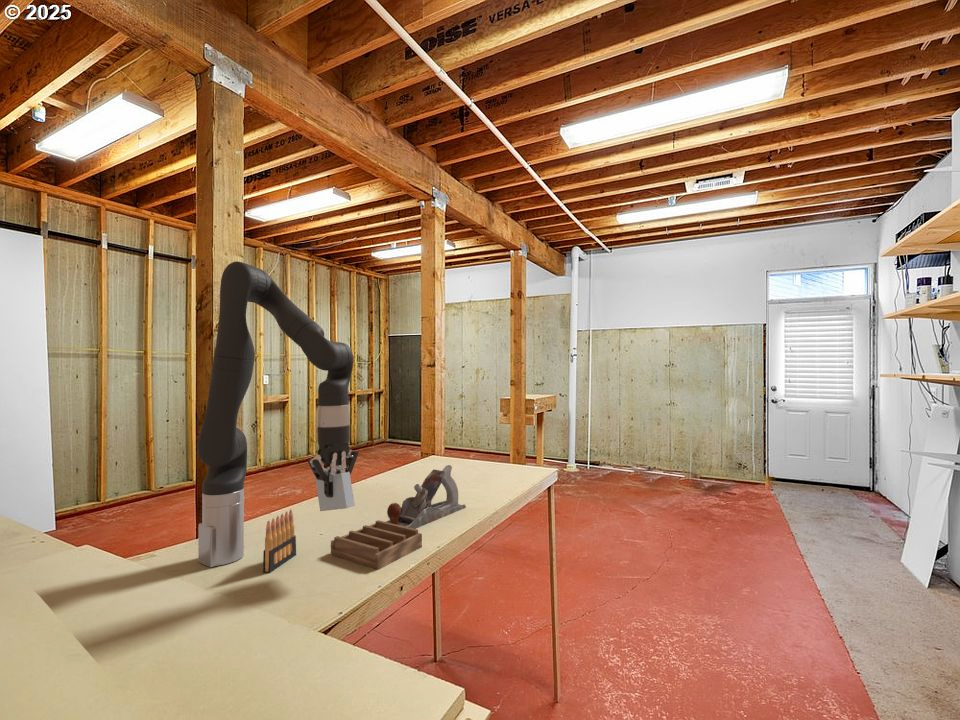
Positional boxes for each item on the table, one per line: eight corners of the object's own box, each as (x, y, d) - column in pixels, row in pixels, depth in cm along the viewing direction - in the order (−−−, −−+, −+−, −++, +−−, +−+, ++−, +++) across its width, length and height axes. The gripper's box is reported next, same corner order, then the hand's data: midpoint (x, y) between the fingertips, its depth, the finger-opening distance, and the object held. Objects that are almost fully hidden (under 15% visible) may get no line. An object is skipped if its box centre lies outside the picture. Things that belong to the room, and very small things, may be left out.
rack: (378, 569, 107) (377, 550, 107) (330, 554, 117) (330, 536, 117) (421, 546, 121) (421, 530, 121) (376, 535, 130) (376, 519, 130)
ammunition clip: (269, 573, 106) (269, 521, 107) (262, 572, 107) (262, 521, 107) (296, 554, 117) (296, 508, 117) (290, 554, 117) (289, 507, 117)
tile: (346, 508, 105) (341, 473, 106) (320, 511, 110) (315, 478, 111) (354, 505, 107) (349, 471, 108) (328, 508, 112) (323, 476, 113)
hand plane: (374, 531, 134) (374, 480, 134) (447, 503, 161) (447, 461, 161) (396, 538, 129) (395, 485, 129) (467, 508, 155) (466, 464, 156)
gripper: (319, 428, 102) (320, 505, 101) (366, 421, 113) (367, 491, 113) (298, 426, 106) (299, 500, 106) (346, 420, 118) (347, 487, 117)
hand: (334, 495), depth 109 cm, fingers closed on tile, 2 cm apart
